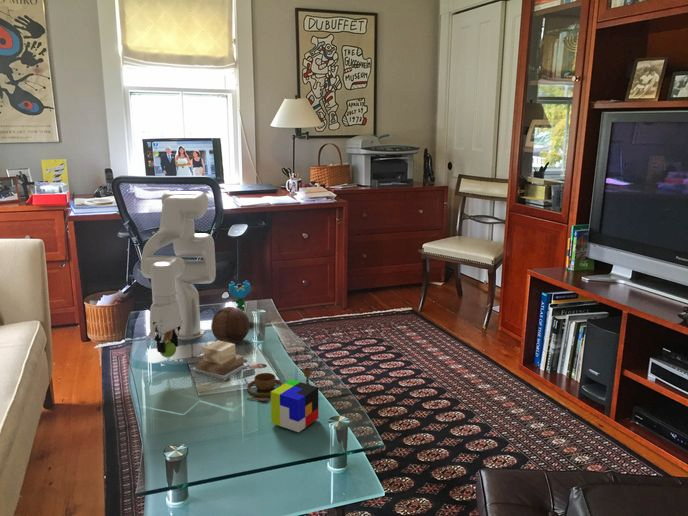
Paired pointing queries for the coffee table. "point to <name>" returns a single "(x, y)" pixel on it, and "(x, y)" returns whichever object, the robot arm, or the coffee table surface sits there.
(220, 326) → the wooden sphere
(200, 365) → the plinth
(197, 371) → the blueprint board
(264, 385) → the place setting
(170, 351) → the snail figurine
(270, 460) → the coffee table surface
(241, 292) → the toy flower
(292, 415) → the puzzle toy
